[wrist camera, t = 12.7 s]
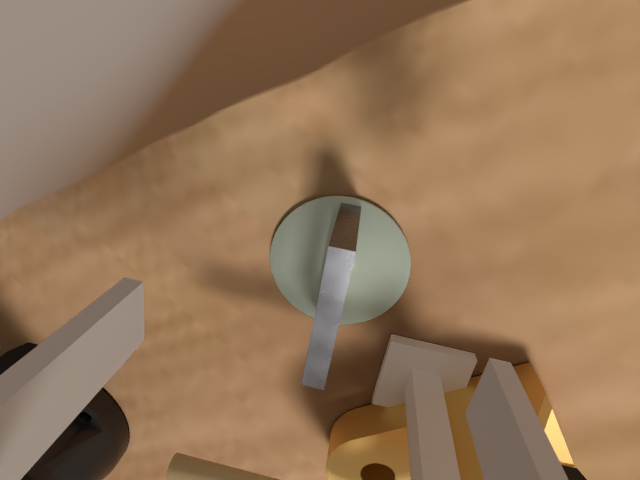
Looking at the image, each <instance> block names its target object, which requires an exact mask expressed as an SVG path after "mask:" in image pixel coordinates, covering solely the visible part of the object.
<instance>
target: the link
mask: <svg viewBox="0 0 640 480" xmlns="http://www.w3.org/2000/svg"><path fill="white" fill-rule="evenodd" d="M360 214H361V206H356V205H352V204H347V203H342V202H341V205H340V208H339V212H338V215H337V219H336V222H335V225H334V229H333V232H332V236H331V239H330V243H329V246H328V251H327V256H326V261H325V266H324V272H323V277H322V282H321V287H320V292H319V297H318V302H317V307H316V312H315V317H314V322H313V327H312V333H311V338H310V343H309V348H308V353H307V358H306V363H305V368H304V373H303V378H302V383H301V385H303V386H308V387H312V388H316V389H320V390H324V388H325V384H326V379H327V375H328V371H329V366H330V362H331V358H332V353H333V349H334V345H335V340H336V336H337V332H338V327H339V323H340V319H341V314H342V310H343V305H344V301H345V297H346V292H347V288H348V284H349V279H350V275H351V271H352V266H353V262H354V258H355V253H356V246H357V238H358V230H359V222H360Z"/></svg>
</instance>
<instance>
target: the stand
mask: <svg viewBox="0 0 640 480" xmlns="http://www.w3.org/2000/svg"><path fill="white" fill-rule="evenodd" d="M476 363H477V359H476V356H475V353H471V352H467V351H463V350H459V349H454V348H450V347H446V346H441V345H437V344H433V343H428V342H424V341H420V340H415V339H411V338H407V337H402V336H398V335H394V334H391V336H390V339H389V342H388V346H387V349H386V352H385V356H384V359H383V362H382V366H381V369H380V372H379V376H378V379H377V382H376V386H375V389H374V392H373V397H372V404H375V405H379V406H383V407H387V408H388V407H391V406H395V405H399V404H403V403H405V405H406V418H407V432H408V446H409V460H410V474H411V480H461V478H460V473H459V468H458V463H457V458H456V453H455V448H454V443H453V438H452V433H451V427H450V422H449V417H448V412H447V407H446V402H445V397H444V393H445V392H449V391H453V390H456V389H460V388H464V387H467V384H468V382H469V380H470V377H471V375H472V373H473V370H474V368H475V366H476ZM166 478H167V480H279V479H275V478H271V477H268V476H264V475H260V474H256V473H252V472H249V471H245V470H241V469H237V468H233V467H230V466H226V465H222V464H218V463H214V462H211V461H207V460H203V459H199V458H195V457H192V456H188V455H184V454H180V453H176V454H175V455H174V457H173V458H172V460H171V462H170V465H169V468H168V471H167V476H166Z"/></svg>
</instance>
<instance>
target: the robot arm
mask: <svg viewBox="0 0 640 480" xmlns="http://www.w3.org/2000/svg"><path fill="white" fill-rule="evenodd" d="M143 341H144V282H142V281H138V280H133V279H129V278H123V279H122V280H121V281H119V282H118V283H117V284H116V285H114V286H113V287H112V288H110V289H109V290H108V291H107V292H105V293H104V294H103V295H102V296H100V297H99V298H98V299H96V300H95V301H94V302H93V303H91V304H90V305H89V306H88V307H86V308H85V309H84V310H82V311H81V312H80V313H79V314H77V315H76V316H75V317H74V318H72V319H71V320H70V321H68V322H67V323H66V324H65V325H63V326H62V327H61V328H60V329H58V330H57V331H56V332H54V333H53V334H52V335H51V336H49V337H48V338H47V339H46V340H44V341H43V342H42V343H40V344H39V345H37V344H33V343H26V344H24V345H21V346H19V347H17V348H15V349H12V350H10V351H8V352H6V353H5V354H4V355H2V356H1V357H0V480H102V479H104V478H105V477H106V476H107V475H108V474H109V473H110V472H111V471H112V470H113V469H114V467H115V466H116V465H117V463H118V462H119V460H120V459H121V457H122V456H123V454H124V453H125V451H126V449H127V447H128V443H129V430H128V426H127V423H126V420H125V418H124V416H123V414H122V412H121V411H120V409H119V408H118V406H117V405H116V404H115V402H114V401H113V400H112V399H111V398H110V397H109V396H108V395H107V394H106V393H105V392H104V391H103V390H102V389H101V388H102V387H103V386H104V385H105V384H106V383H107V382H108V381H109V379H110V378H111V377H112V376H113V375H114V374H115V373H116V372H117V370H118V369H119V368H120V367H121V366H122V365H123V364H124V362H125V361H126V360H127V359H128V358H129V357H130V356H131V355H132V353H133V352H134V351H135V350H136V349H137V348H138V347H139V346H140V344H141V343H142V342H143ZM466 417H467V421H468V424H469V428H470V431H471V435H472V438H473V442H474V446H475V449H476V453H477V456H478V460H479V463H480V467H481V471H482V474H483V478H484V480H587V479H586V478H585V477H584V476H583V475H582V474H581V473H580V471H579V470H578V469H577V468H573V467H569V466H564V465H561V463H560V461H559V459H558V457H557V455H556V453H555V451H554V449H553V447H552V445H551V443H550V441H549V439H548V437H547V435H546V433H545V431H544V429H543V427H542V425H541V423H540V421H539V419H538V417H537V415H536V413H535V411H534V409H533V407H532V405H531V403H530V401H529V398H528V396H527V394H526V392H525V390H524V388H523V386H522V384H521V382H520V380H519V378H518V376H517V374H516V372H515V370H514V368H513V366H512V364H511V362H507V361H502V360H498V359H493V358H489V360H488V362H487V365H486V367H485V369H484V372H483V374H482V376H481V378H480V381H479V383H478V385H477V388H476V390H475V392H474V395H473V397H472V399H471V401H470V404H469V406H468V408H467V411H466Z"/></svg>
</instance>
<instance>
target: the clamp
mask: <svg viewBox="0 0 640 480" xmlns="http://www.w3.org/2000/svg"><path fill="white" fill-rule="evenodd" d="M513 368H514V370H515V372H516V374H517V376H518V378H519V380H520V382H521V384H522V386H523V388H524V390H525V392H526V394H527V396H528V398H529V401H530V403H531V405H532V407H533V409H534V411H535V413H536V415H537V417H538V419H539V421H540V423H541V425H542V427H543V429H544V431H545V433H546V435H547V437H548V439H549V441H550V443H551V445H552V447H553V449H554V451H555V453H556V455H557V457H558V459H559V461H560V463H561V465H564V466H569V467H573V468H575V466H574V463H573V461H572V458H571V456H570V453H569V451H568V448H567V445H566V443H565V440H564V438H563V435H562V433H561V430H560V428H559V425H558V423H557V420H556V417H555V415H554V412H553V410H552V407H551V405H550V402H549V400H548V397H547V395H546V392H545V390H544V388H543V387H542V385H541V383H540V381H539V379H538V377H537V375H536V373H535V371H534V369H533V367H532V365H531V363H530V362H529V363H525V364H521V365H517V366H514V367H513ZM481 376H482V375H480V376H476V377H472V378H470V380H469V382H468V384H467V387H464V388H460V389H456V390H453V391H449V392H445V393H444V397H445V402H446V407H447V412H448V417H449V422H450V427H451V433H452V438H453V443H454V448H455V453H456V458H457V463H458V468H459V473H460V478H461V480H484V478H483V474H482V471H481V467H480V463H479V460H478V456H477V453H476V449H475V446H474V442H473V438H472V435H471V431H470V428H469V424H468V421H467V417H466V411H467V408H468V406H469V404H470V401H471V399H472V397H473V395H474V392H475V390H476V388H477V385H478V383H479V381H480V378H481ZM326 474H327V477H328V480H411V474H410V460H409V446H408V432H407V418H406V405H405V403H403V404H399V405H395V406H391V407H388V408H387V407H383V406H379V405H375V404H371V405H367V406H363V407H360V408H356V409H353V410H351V411H348V412H346V413H345V414H343V415H342V416H341V417H339V418H338V419H337V421H336V422H335V423H334V425H333V427H332V430H331V435H330V442H329V449H328V456H327V463H326Z"/></svg>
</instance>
